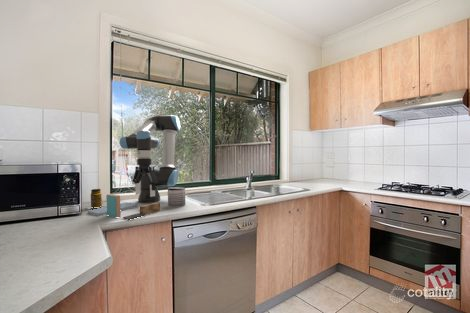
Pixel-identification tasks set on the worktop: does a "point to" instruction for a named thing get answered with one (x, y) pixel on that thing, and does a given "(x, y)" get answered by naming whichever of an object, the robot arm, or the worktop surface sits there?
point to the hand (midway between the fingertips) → (145, 195)
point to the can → (176, 196)
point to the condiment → (96, 198)
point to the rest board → (104, 209)
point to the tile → (113, 205)
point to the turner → (146, 210)
